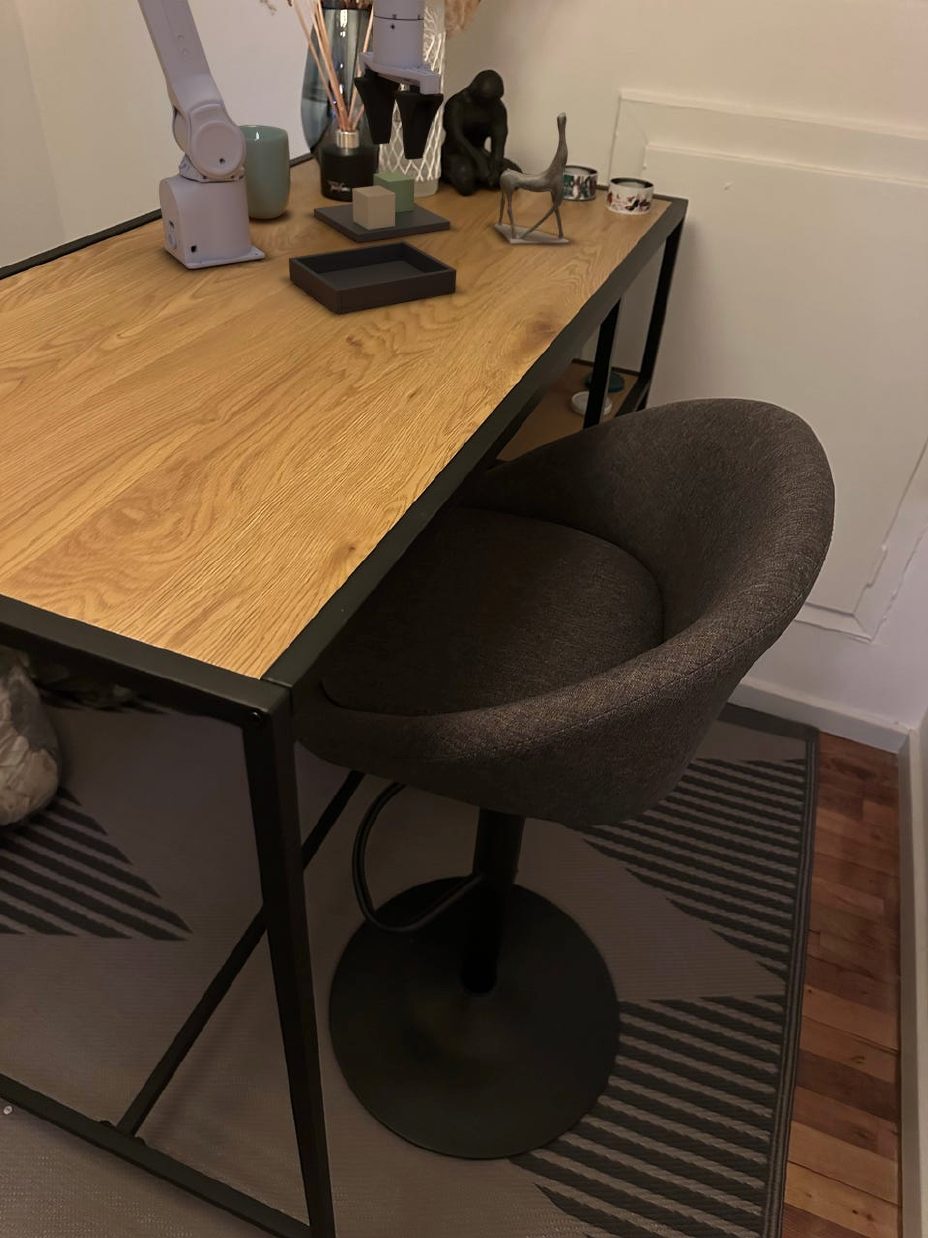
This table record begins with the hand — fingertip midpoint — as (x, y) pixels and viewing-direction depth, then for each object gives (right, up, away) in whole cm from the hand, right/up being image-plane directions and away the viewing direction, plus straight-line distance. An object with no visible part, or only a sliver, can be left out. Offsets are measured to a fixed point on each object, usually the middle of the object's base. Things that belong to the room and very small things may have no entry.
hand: (397, 150), depth 109 cm
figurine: (+16, -6, +11) cm, 20 cm away
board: (-3, -3, +12) cm, 13 cm away
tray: (-2, -19, -6) cm, 20 cm away
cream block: (-4, -5, +8) cm, 10 cm away
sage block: (-2, -1, +14) cm, 14 cm away
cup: (-19, -3, +11) cm, 22 cm away
